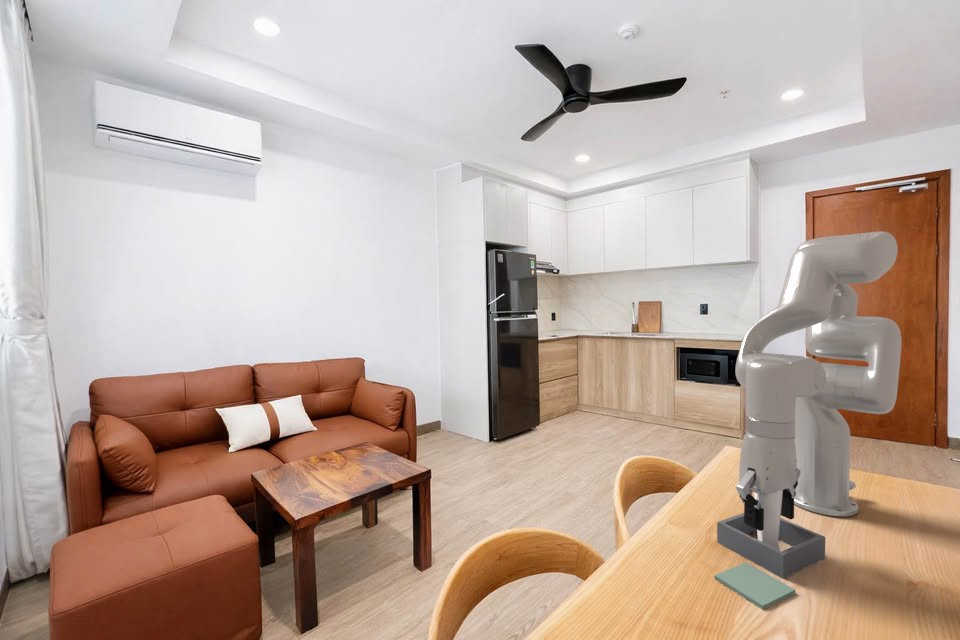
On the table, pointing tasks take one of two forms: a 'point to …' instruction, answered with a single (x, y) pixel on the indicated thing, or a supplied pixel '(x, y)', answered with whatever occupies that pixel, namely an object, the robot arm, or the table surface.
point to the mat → (755, 585)
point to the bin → (781, 563)
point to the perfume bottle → (771, 518)
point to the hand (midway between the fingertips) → (769, 520)
